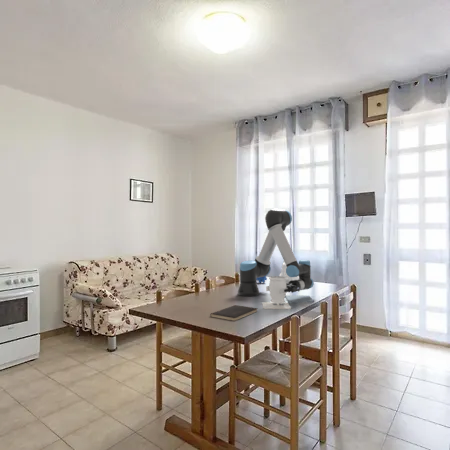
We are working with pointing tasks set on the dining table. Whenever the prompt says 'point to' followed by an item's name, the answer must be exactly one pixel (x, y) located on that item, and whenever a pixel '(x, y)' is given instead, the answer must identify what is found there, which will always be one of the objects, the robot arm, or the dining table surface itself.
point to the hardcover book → (234, 312)
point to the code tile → (275, 305)
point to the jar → (277, 288)
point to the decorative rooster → (283, 274)
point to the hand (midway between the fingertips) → (273, 290)
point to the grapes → (261, 279)
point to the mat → (299, 298)
